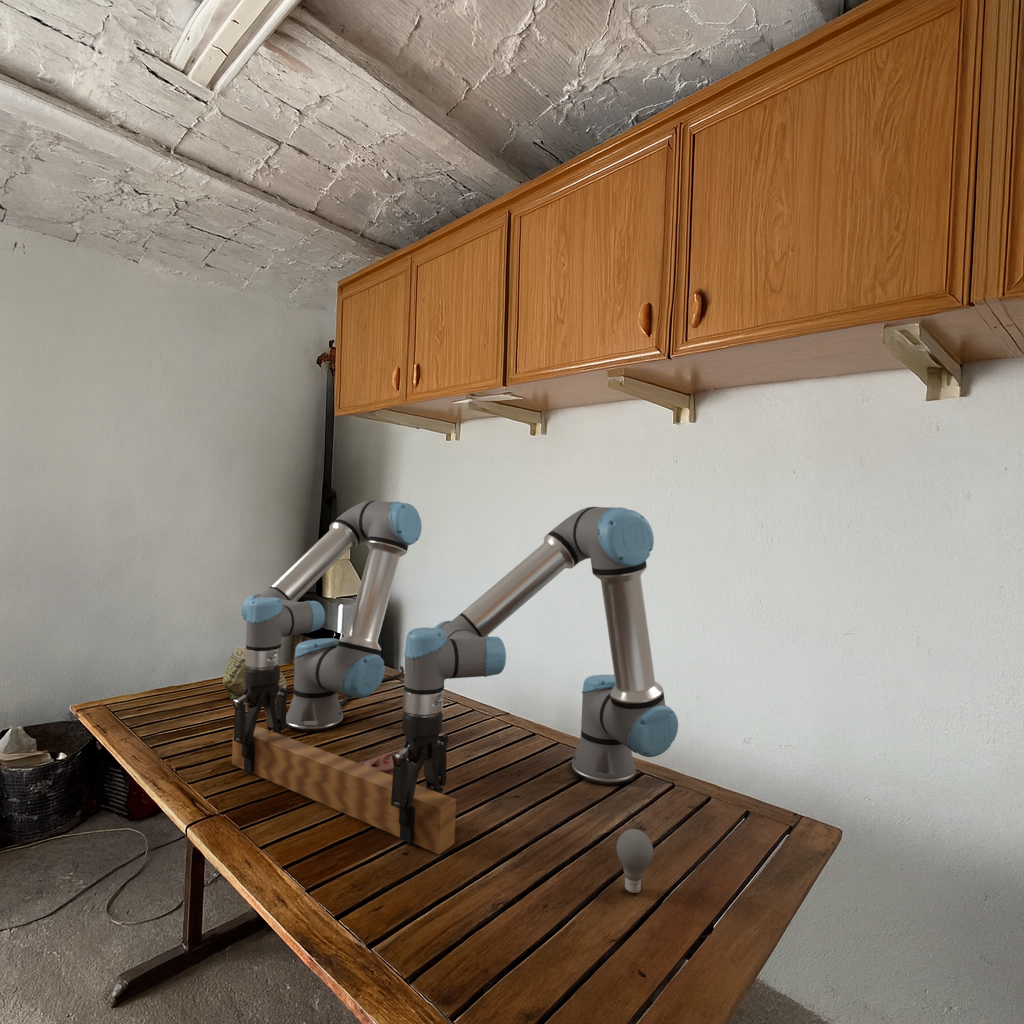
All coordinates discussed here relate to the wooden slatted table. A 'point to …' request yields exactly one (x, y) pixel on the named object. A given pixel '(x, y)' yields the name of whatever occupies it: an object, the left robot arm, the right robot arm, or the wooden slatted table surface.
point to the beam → (349, 787)
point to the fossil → (239, 674)
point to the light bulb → (634, 857)
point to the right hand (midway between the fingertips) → (417, 832)
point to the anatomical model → (381, 763)
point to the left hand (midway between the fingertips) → (259, 766)
